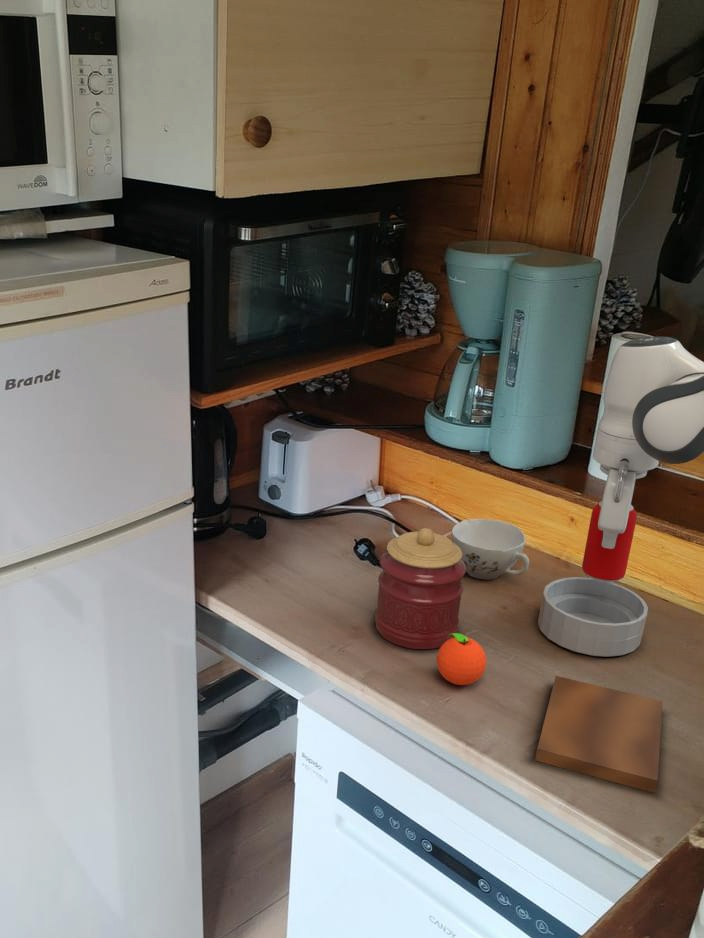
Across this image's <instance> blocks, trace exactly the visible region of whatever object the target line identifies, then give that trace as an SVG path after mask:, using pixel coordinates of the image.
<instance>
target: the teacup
mask: <svg viewBox="0 0 704 938" xmlns="http://www.w3.org/2000/svg"><path fill="white" fill-rule="evenodd" d="M451 541H452V542H453V543H455V544H456V545H457V546H458V547H459V548H460V549H461V551H462V558H461V559H462V560H463V562H464V563H465V566H466V572H465V573H467V574H468V575H469V576H470V577H472V578H475V579H479V580H485V581H489V580H495V579H497V578H498V577H500V576H501V575H504V574H508V575H515V576H521V575H523V574H525V573H526V572H527V571H528V570H529V567H530V558H529V556H528V555H527V554H526V553H524V552H523V550H524V549H525V544H526V534H525V533H524V532H523V530H522V529H521V528H519V527H518V526H515V525H514V524H512V523H509V522H506V521H503V520H497V519H487V518H482V517H478V518H470V519H469V518H468V519H463V520H461V521H460V522H458V523H456V524H455V525H454V526H453V528H452V530H451ZM518 560H521V561H522V562H523V563H524V567H523V568H522V569H517V570H515V569H513V570H511V569H512V568H513V566H515V564H517V562H518Z"/></svg>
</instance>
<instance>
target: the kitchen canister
mask: <svg viewBox="0 0 704 938" xmlns="http://www.w3.org/2000/svg"><path fill="white" fill-rule="evenodd" d="M461 558H462V551H461V549H460V548H459V547H458V546H457V545H456V544H455V543H453V541H452V539H451V540H450V539H449V538H448V537H447V536H444V535H442V534H439V533H435V532H434V531H433V530H432V528H429V527H423V528H421V529H420V530H417V531H409V532H405V533H403V534H401V535H399V536H396V537H394V538H392V539H390V541H389V542H387V545H386V550H385V551H384V553H382V555H381V556H380V558H379V563H380V566H381V568H382V571H381V572H380V574H378V575H379V576H378V580H377V581H378V592H377V601H376V608H375V612H374V621H375V627H376V631H377V632H378V633H379V635H381V637H382V638H384V639H385V640H386V641H388V642H390V643H392V644H395V645H397V646H400V647H404V648H406V649H407V648H408V649H414V650H431V649H432V650H433V649H438V648H441V646H442V645H443V644H444V643H445V642H446V641H448V640H449V639H451V638H455V637H454V636H453V635H452V634H451V633H458V629H459V622H460V620H459V616H460V615H459V613H460V608H461V599H462V594H463V592H464V584H463V581H462V578H463V577H464V576H465V574H466V573H467V572H466V566H465V563H464V562H463V560H462V559H461ZM449 634H451V635H450V636H449V637H448V635H449ZM447 637H448V639H447Z"/></svg>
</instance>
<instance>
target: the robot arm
mask: <svg viewBox="0 0 704 938" xmlns="http://www.w3.org/2000/svg"><path fill="white" fill-rule="evenodd" d="M603 407H604V408H603V413H602V416H601V418H600V420H599V422H598V425H597V431H596V435H595V441H594V448H593V452H592V459H593V460H594V461H595V462H596V463H597V464H599V470H600V471H601V472H602V473H603V474H604V475H607V476H606V481H605V486H604V491H603V496H602V500H601V501H602V505H601V510H600V516H599V521H598V528H599V529H600V530H602V531H603V540H602V547H604V548H609V549H613V548H614V547H615V543H616V538H617V535H618V533H624V531H625V529H626V526H627V521H628V516H629V511H630V506H631V505H632V500H633V495H634V490H635V485H636V480H639V479H642V478H645V477H646V476H647V474H648V471H651V470H654V469H656V468H657V467H658V466H659V464H660V462H661V463H664V464H667V465H668V464H669V465H680V464H686V463H689V462H691V461H693V460H695V459H697V458H698V457H700V456H701V455H702V454H704V361H702V360H701V359H699V358H697V357H696V356H695V355H693V354H692V353H691V352H689V351H688V350H687V349H686V348H684V346H683V345H682V343H681V342H680V341H679V340H678V339H677V338H673V337H670V336H659V335H658V336H657V335H656V336H644V337H638V338H635V339H634V338H633V339H631V340H628V341H626V342H624V343H622V344H621V345H620V346H619V347H618V348H617V349H616V351H615V353H614V355H613V358H612V361H611V364H610V366H609V370H608V375H607V379H606V381H605V387H604V392H603Z"/></svg>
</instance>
